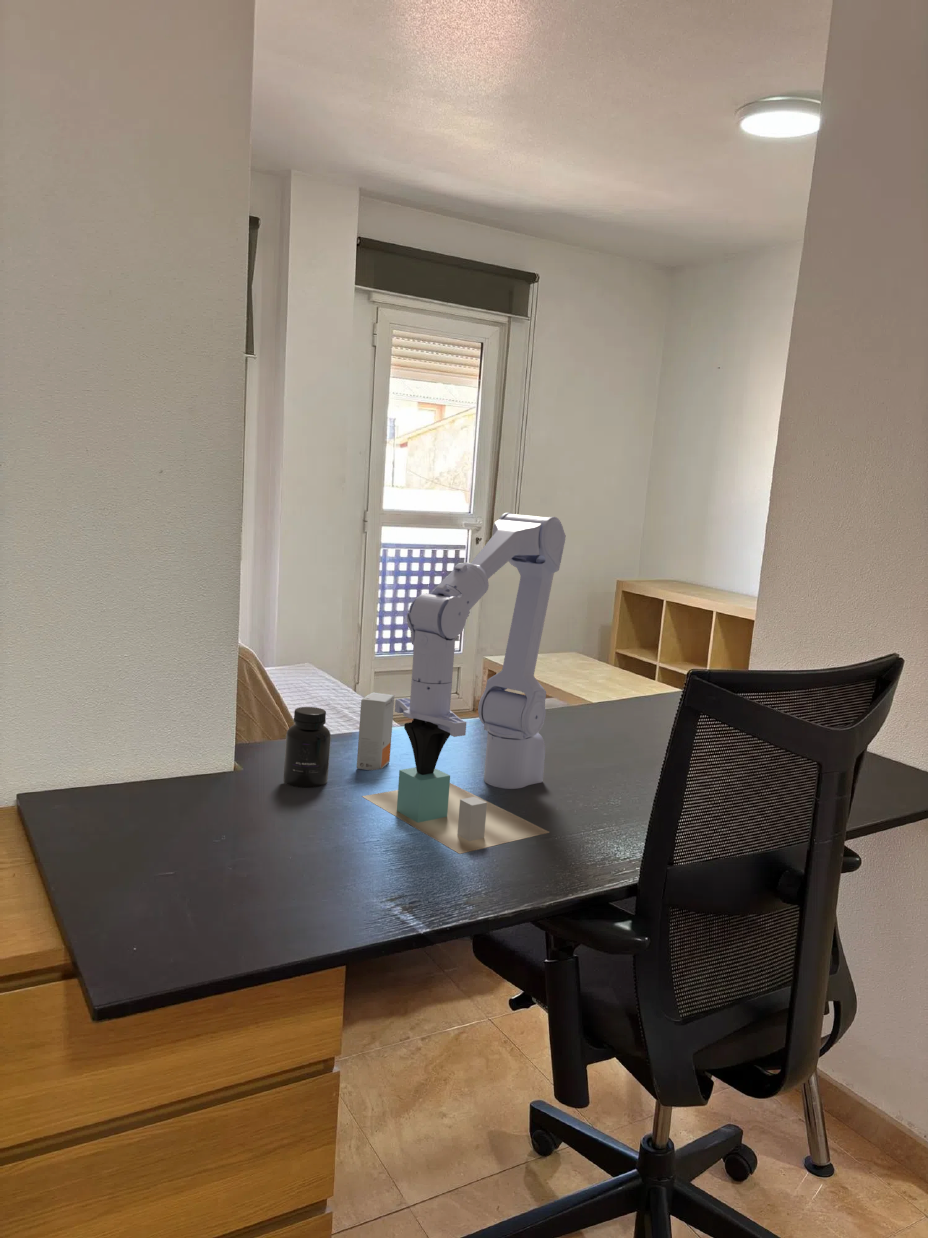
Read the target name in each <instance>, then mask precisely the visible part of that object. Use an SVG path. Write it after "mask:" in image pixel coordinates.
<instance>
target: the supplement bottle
mask: <svg viewBox="0 0 928 1238" xmlns="http://www.w3.org/2000/svg"><path fill="white" fill-rule="evenodd" d="M293 714H294V716H293V723H294V724H292V725H291V726H290V727H289V728H288V729H287V730H286V734H285V745H284V747H285V748H284V752H285V753H284V764H283V765H284V766H283V784H284V785H288V786H290V787H295V788H300V789H301V788H302V789H304V788H305V789H306V788H307V789H309V788H311V789H312V788H319V787H322V786H324V785H326V784H327V783H328V779H329V768H330V766H329V765H330V752H331V739H332V735H331V731H330V730H329V728H328V727H326V726H325V724H326V720H327V719H326V715H327V712H326V710H325V709H323V708H320V707H313V706H303V707H297V708H295V709H294V711H293Z"/></svg>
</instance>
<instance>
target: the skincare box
mask: <svg viewBox="0 0 928 1238" xmlns="http://www.w3.org/2000/svg"><path fill="white" fill-rule="evenodd" d="M360 700H361V702H360V714H359V727H358V729H359V731H358V742H357V743H358V744H357V757H356V769H357V770H366V771H376V770H382V769H384V767H386V766H387V765H388V764H389V763H390V760H391V749H392V748H391V747H392V734H393V723H394V718H393V717H394V709H395V694H388V693H382V692H381V693H380V692H374V691H373V692H371V693H369V694H367V695H366V696H364V697H363V698H362V699H360Z"/></svg>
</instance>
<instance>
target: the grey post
mask: <svg viewBox="0 0 928 1238" xmlns="http://www.w3.org/2000/svg"><path fill="white" fill-rule="evenodd" d="M486 809H487V802H485V801H483V800H481V799H479V798H477V797H470V798H465V799H460V807H459V820H458V833H457V835H459V836H461V837H462V838H464V839H466V840H468V841H472V840H477V839H481V838H484V834H485V822H486Z"/></svg>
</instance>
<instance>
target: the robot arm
mask: <svg viewBox="0 0 928 1238" xmlns="http://www.w3.org/2000/svg"><path fill="white" fill-rule="evenodd" d="M497 519H498V520H495V522H493V525H492V526H493V527H492V534H491V535H492V536H491V537H490V539H489V540H488V541H487V542H486V543H485V545H484V546H483V547H482V548H481V550H480V551H479V552H478V553H477V555H476V556H475V557H474V558H473V560H472V561H471V562H465V561H464V562H461V563H457V564H456V565H455V566H454V567H453V569H452V571H451V572H449V574H447V576H446V577H444V578H443V580H442V581H441V582H440V583H439V584H437V586H435V587H434V589H432V591H430V593H422V594H420V595H418V596H417V597H415V598H414V599H413V601H412V602H411V604H410V606H409V609H408V612H407V613H406V623H407V625H408V628H409V631H410V642H411V645H412V646H413V654H412V667H411V668H412V669H411V683H410V685H411V686H410V698H407V697H402V698H396V699H395V700H394V712H395V713H397V714H403V717H405V718H408V719H411V722H405V723H404V725H403V727H404V730H405V732H406V734H407V737H408V739H409V742H410V746H411V749H412V753H413V758H414V762H415V763H414V764H415V767H416V770H417V772H418V773H420V774H422V775H425V774H431V773H433V772H434V769H436V767H437V766H436V765H437V763H438V761H439V757H440V756H441V755H440V754H441V753H442V750H443V748H444V746H445V744H446V742H447V741H448V740H449V738H450V737H454V738H455V737H463V736H466V734H467V721H465V720H464V719H461V718H460V717H459V716H458V715H456V714H455V713H454V712H453V711H452V710H451V701H452V700H451V699H452V689H453V687H452V686H453V672H454V662H455V661H454V660H455V659H454V658H455V647H456V638H457V637H458V636H459V635H461V634H462V632H463V631H464V629H465V626H466V622H467V619H468V617H469V616H470V613H471V609H472V608H473V607H474V606H475V605H476V604H477V603H478V602H479V601H480V599H482V598H483V597H484V595H485V594H487V592H488V590H489V586H490V585H489V579H490V578H491V577H492V576H493V575H495V574H496V573H497V572H498V571H499V570H500V569H502V568H503V567H504V566H506V564H507V563H508V562H509V564H510V565H511V566H513V567H514V568H515V569H516V570H517V571H518V573H519V576H520V577H519V583H518V588H517V594H516V598H515V603H514V607H513V608H514V609H513V613H512V614H513V615H512V619H511V624H510V629H509V633H508V639H507V642H506V649H505V654H504V658H503V665H502V669H501V671H499V672H497V673H496V674H495V675H494V674H493V676H491V677H488V678H487V680H486V685H485V688H484V691H483V693H482V695H481V696H480V699H479V702H478V706H477V711H478V712H477V713H478V718H479V720H480V722H481V723H482V724H483V725H484V726H483V730H484V731H487V737H486V748H485V749H486V750H485V759H484V760H485V761H484V771H483V772H484V773H483V782H485V783H486V784H487V785H490V786H491V787H495V788H498V789H499V788H500V789H506V790H507V789H511V790H514V789H522V788H525V787H527V786H530V785H534V784H540V783H543V780H544V770H545V760H546V759H545V757H546V744H545V740H544V738H543V736H542V735H541V734H540V733H539V732H540V731H541V730H542V728H543V726H544V723H545V721H546V713H547V710H546V697H547V691H546V690H545V688H544V687H543V685H541V683H540V682H539V681H538V679H537V678H536V677H535V672H536V666H537V660H538V654H539V651H540V646H541V641H542V635H543V632H544V631H543V630H544V625H545V621H546V615H547V610H548V604H549V601H550V595H551V591H552V590H551V589H552V584H553V580H554V575H555V573H557V572H558V571H559V570H560V567H561V563H562V559H563V558H562V557H563V553H564V549H565V544H566V533H565V530H564V527H563V524H562V522H561V519H559V518H558V517H556V516H539V515H529V514H518V513H516V514H515V513H513V512H504V513H502V514H501V515H500V516H499V517H498V518H497ZM507 689H508V690H513V691H517V692H521V693H522V694H520V693H516V692H512V691H507ZM523 693H524V694H523Z"/></svg>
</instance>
